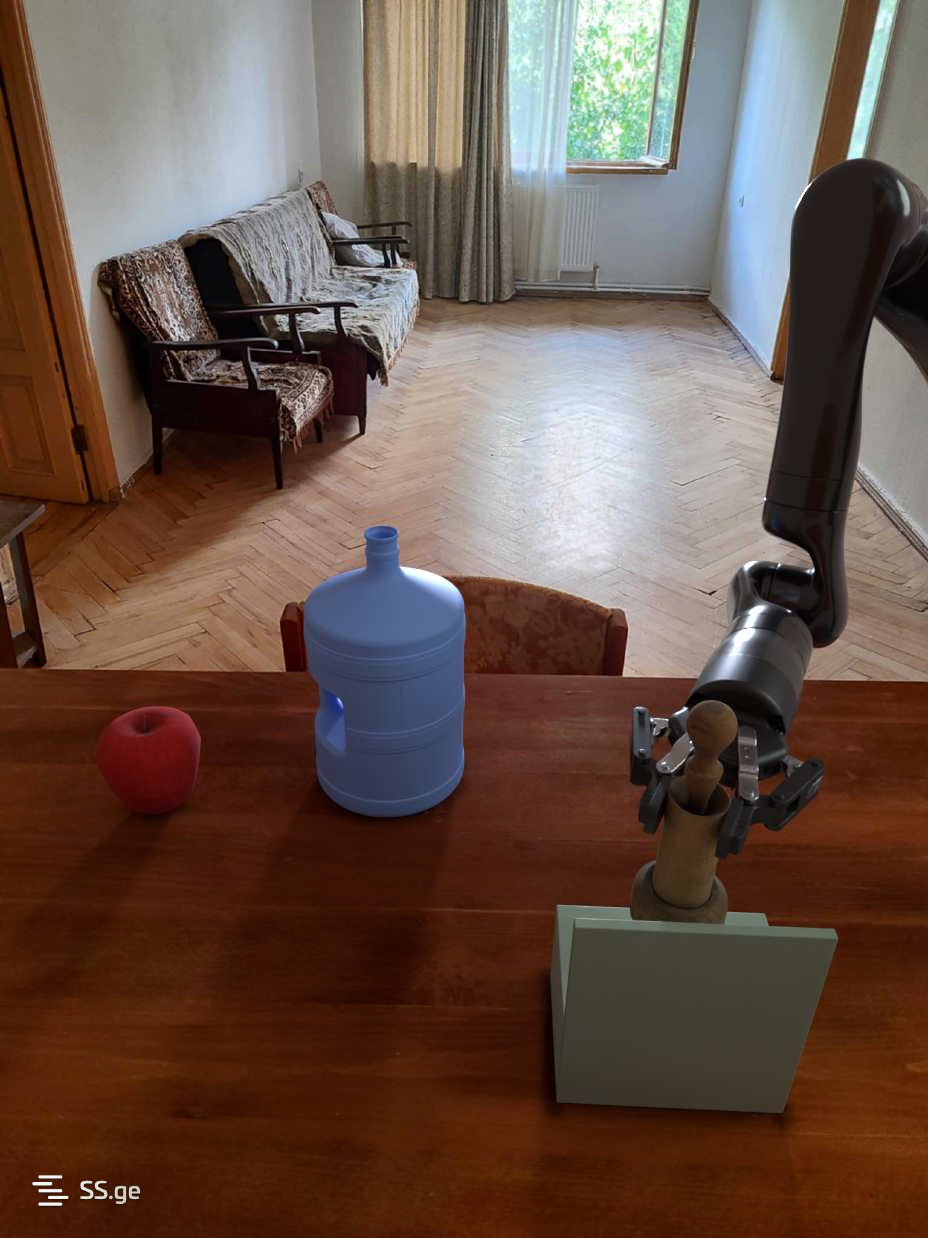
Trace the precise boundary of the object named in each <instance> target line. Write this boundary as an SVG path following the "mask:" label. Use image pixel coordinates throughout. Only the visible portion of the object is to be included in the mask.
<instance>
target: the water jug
mask: <svg viewBox="0 0 928 1238" xmlns="http://www.w3.org/2000/svg"><path fill="white" fill-rule="evenodd" d="M399 536H400V532H399V529H397V528H396V527H394V526H390V525H374V526H371V527H368V528H366V529H365V530H364V532H363V537H364V539H365V541H366V545H365V548H364V555H365V558H366V560H365V561H366V567H361V568H357V569H356V568H355V569H352V570H348V571H345V572H341V573H338V574H337V575H334V576H332V577H330V578H328V579H326V580H324V581H322V582H321V583H320V584H318V585H317V586H316V587H315V588H314V589H313V590H312V591H311V592H310V593H309V595H308V596H307V598H306V600H305V603H304V606H303V618H304V619H303V637H304V644H305V649H306V652H307V663H308V670H309V673H310V675H311V677H312V678H313V680H314V681H315V683H316V684H318V694H319V704H320V705H319V707H318V709H317V711H316V714H315V717H314V725H313V726H314V727H313V729H314V739H315V748H316V754H315V755H316V757H315V766H316V774H317V779H318V782H319V785H320V786H321V788H322V790H323V791H324V793H325V794H326V796H328V798H330V800H332V801H333V802H334V803H335V804H337V805H338V806H340V807H342V808H343V809H346V810H347V811H350V812H351V813H355V814H359V815H362V816H366V817H374V818H399V817H406V816H407V817H408V816H411V815H416V814H419V813H421V812H422V813H423V812H424V811H427V810H429V809H431V808H433V807H435V806H436V805H438V804H441V803H442V802H443V801H445V800H446V799H447V798H448V797H450V795H451V794H452V793H453V792H454V791H455V790H456V788H457V787H458V785H459V783H460V782H461V780H462V778H463V775H464V769H465V749H464V713H465V706H466V689H465V683H464V679H465V678H464V677H465V673H464V672H465V642H466V631H467V630H466V627H467V623H466V620H467V619H466V613H465V601H464V598H463V595H462V593H461V592H460V591H459V589H458V588H457V586H455V584H453V583H452V582H450V581H449V580H448V579H446V578H444V577H442V576H441V575H439V574H436V573H434V572H431V571H427V570H425V569H424V570H423V569H419V568H415V567H408V566H401V565H400V546H399V544H398V538H399Z"/></svg>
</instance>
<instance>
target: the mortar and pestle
mask: <svg viewBox="0 0 928 1238" xmlns="http://www.w3.org/2000/svg"><path fill="white" fill-rule="evenodd" d="M686 730H687V733H688V736H689V738H690V740H691V742H692V744H693V746H694V748H695V753H694V755H693V756H691V757H690V758H688V760H687V761H686V775H684V776H680V777H678V778H676V779H674V780H673V781H672V782H671V784H670V786H669V789H668V795H667V801H666V807H665V814H664V816H663V818H662V819H663V820H662V824H661V825H662V826H661V830H660V837H659V843H658V848H657V853H656V859H654V860H651V861H649V862H647V863H646V864H644V865H643V866H642V867H641V868H640V869H639V870H638V871H637V873H636V874H635V877H634V879H633V883H632V888H631V893H630V899H629V908H630V914H631V918H632V920H634V921H658V922H682V923H706V924H724V923H725V918H726V914H727V912H728V909H729V897H728V893H727V890H726V888H725V886H724V884H723V882H722V881H721V880H720V879H719V877H718V876H717V875H716V870H717V866H718V861H719V858H717V857H715V851H716V847H717V842H718V838H719V834H720V831H721V828H722V825H723V823H724V820H725V817H726V815H727V812H728V810H729V807H730V805H731V795H730V794H729V792H728V790H727V789H726V788H725V786H723V785H721V784H719V783H718V782H719V780H720V778H721V776H722V773H723V766H722V764H721V763H720V762H719V761H718V760H717V758H718V756H719V754H720V753H721V752H722V751H723V750H724V749H725V748H727V747H728V746H729V745H730V744H731V743H732V741H733V740H734V739H735V737H736V734H737V730H738V723H737V719H736V716H735V714H734V712H733V711H732V709H731V708H730V707H729V706H727V705H726V704H724V703H722V702H719V701H714V700H708V701H703V702H700V703H699V704H697V705H696V706H694V707H693V708H692V710H691V711H690V712H689V714H688V717H687V720H686Z"/></svg>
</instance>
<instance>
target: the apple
mask: <svg viewBox="0 0 928 1238" xmlns="http://www.w3.org/2000/svg"><path fill="white" fill-rule="evenodd" d="M201 741H202V737H201V735H200V732H199V730H198V728H197V726H196V724H195V722H194V721H193V719H192V718H191V716H190V714H188V713H186V712H184V711H182V710H180V709H179V708H178V709H177V708H175V707H170V706H162V705H159V706H158V705H153V706H151V705H150V706H145V707H144V706H143V707H139V708H137V709H133V710H131V711H130V710H129V711H128V712H126V713H124V714H122V715H121V716H118V717H117V718H115V719H114V720H113V721H112V722H111V723H110V724H109V725H108V726H107V727H106V728H104V730H102V732H101V733H100V734H99V737H98V741H97V744H96V751H95V752H96V753H95V756H94V762H95V764H96V766H97V768H98V770H99V772H100V774H101V775H102V777H103V779H104V781H105V783H106V784H107V786H108V787H109V789H110V790H111V792H112V793H113V794H114V795H115V796H116V797H117V799H119V801H120V802H121V803H122V804H123V805H124V807H126V808H127V809H129V810H131V811H132V812H134V813H141V814H146V815H147V814H149V815H162V814H165V813H168V812H171V811H173V810H174V809H176V808H177V807H179V806H180V805H181V804H183V803H185V802H186V801H187V800H188V799H189V797H190V796H191V794H192V792H193V791H194V789H195V783H196V780H197V775H198V771H199V765H200V764H199V763H200V755H201V744H202V742H201Z"/></svg>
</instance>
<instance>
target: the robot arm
mask: <svg viewBox="0 0 928 1238" xmlns="http://www.w3.org/2000/svg"><path fill="white" fill-rule="evenodd" d="M789 242H790V243H789V309H788V325H787V326H788V327H787V340H786V341H787V342H786V343H787V344H786V356H785V365H784V366H785V367H784V376H783V384H782V392H781V400H780V408H779V413H778V414H779V415H778V421H777V427H776V431H775V432H776V433H775V437H774V443H773V448H772V453H771V460H770V463H769V470H768V475H767V481H766V486H765V492H764V499H763V503H762V510H761V517H760V518H761V519H760V523H761V527H762V529H763V530H764V532H765V533H767V534H768V535H769V536H771V537H774V538H775V539H778V540H780V541H783V542H785V543H789V544H791V545H793V546H796V547H797V548H799V549H801V550H803V551H804V552H805V554H807V556H808V557H809V560H810V561H811V563H812V567H813V568H811V567H804V566H800V565H792V564H787V563H779V562H776V561H770V560H753V561H749V562H747V563H744V564H743V565H741V566H740V567H738V569H737V570H736V571H734V573H733V575H732V577H731V579H730V581H729V584H728V587H727V592H726V616H727V625H728V626H727V630H726V632H725V634H724V635H723V638H722V639H721V641H720V643H719V645H718V646H717V647H716V648H715V650H714V651H713V652H712V653H711V654H710V656H709V658H708V659H707V661H706V663H705V665H704V666H703V669H702V670H701V673H700V674H699V676H698V678H697V680H696V682H695V684H694V686H693V688H692V689H691V691H690V693H689V695H688V697H687V699H686V700H685V703H684V704H683V706H682V708H681V709H680V710H679V711H677V712H676V711H675V712H674V713H672V714H671V715H670V716H669V718H668V719H667V718H659V717H658V718H657V717H656V718H655V717H651V711H650V710H649V709H648V708H646V707H643V706H637V707H635V708H633V710H632V715H631V723H630V729H629V737H628V738H629V739H628V740H629V782H630V783H631V784H632V785H633V786H635V787H643V786H645V787H646V788H645V789H644V791H643V794H642V795H641V797H640V799H639V805H638V814H637V820H638V822H639V823H640V824H641V823H642V824H643V828H642V831H643V832H644V833H646V834H649V835H652V836H655V834H656V832H657V830H658V828H659V826H660V824H661V822H662V821H663V820H662V819H664V814H665V807H666V801H667V795H668V789H669V786H670V784H671V782H672V781H673V780H674V779H676V778H678V777H680V776H684V775H686V761H687V760H688V758H690V757H691V756H693V755H694V753H695V748H694V746H693V744H692V742H691V740H690V738H689V736H688V733H687V730H686V720H687V717H688V714H689V712H690V711H691V710H692V708H693V707H694V706H696V705H697V704H699V703H700V702H703V701H708V700H714V701H719V702H722V703H724V704H726V705H727V706H729V707H730V708H731V709H732V711H733V712H734V714H735V716H736V719H737V723H738V730H737V734H736V737H735V739H734V740H733V741H732V743H731V744H730V745H729V746H728V747H727V748H725V749H724V750H723V751H722V752H721V753H720V754H719V756H718V758H717V760H718V761H719V762H720V763H721V764H722V766H723V773H722V776H721V778H720V780H719V782H718V783H719V784H720V785H721V786H723V787H726V788H729V790H730V798H731V805H730V807H729V810H728V812H727V815H726V817H725V820H724V823H723V825H722V828H721V831H720V834H719V838H718V842H717V847H716V851H715V857H717V858H718V859H720V860H723V861H727V859H728V857H729V854H730V855H732V856H738V855H739V854H740V853H742V851H743V848H744V845H745V842H746V840H747V836H748V834H749V830H750V828H752V826H753V825H757V824H760V825H763V826H764V828H766V830H768V831H771V832H780V831H781V830H782V829H783V828H785V827H786V826H787V825H788V824H789V823H791V821H792V820H793V819H794V818H795V817H796V816H797V815H798V814H799V813H801V811H803V810H804V809H805V807H806V806H808V805H809V804H810V803H811V802H812V801H813V800H814V799H816V797H817V796H818V795H819V792H820V788H821V785H822V781H823V778H824V773H825V770H826V767H827V766H826V762H824V761H823V760H822V759H820V758H817V757H809V758H808V759H807V760H805V761H802V760H800V759H798V758H796V757H794V756H792V755H790V748H789V746H788V744H787V739H788V737H789V734H790V732H791V728H792V725H793V722H794V719H795V718H796V716H797V714H798V711H799V708H800V707H799V704H800V701H801V698H802V694H803V689H804V679H805V675H806V673H807V670H808V667H809V664H810V662H811V658H812V655H813V651H814V650H813V649H823V648H826V647H830V646H832V644H834V643H836V641H837V640H838V639H840V637H841V636H842V634H843V633H844V631H845V629H846V627H847V624H848V621H849V620H848V619H849V614H850V605H849V604H850V601H849V600H850V599H849V590H848V583H847V573H846V563H845V534H846V533H845V532H846V526H847V525H846V524H847V518H848V514H849V507H850V503H851V498H852V493H853V490H854V483H855V479H856V474H857V470H858V464H859V458H860V451H861V441H862V430H863V387H864V386H863V385H864V374H865V373H864V371H865V364H866V356H867V349H868V344H869V338H870V334H871V329H872V326H873V322H874V319H875V320H876V321H877V322H878V323H879V324H880V325H881V327H883V328H884V329H885V330H886V331H887V332H888V333H889V334H890V335H891V336H892V337H893V338H894V339H895V340H896V341H897V343H899V345H900V346H901V347H902V348H903V349H904V351H905V352H906V353H907V354H908V356H909V357H910V359H911V361H912V362H913V363H914V365H915V367H916V369H917V371H918V372H919V374H920V377H921V379H922V380H923V381H924V383H925V386H926V387H927V388H928V198H927V197H926V196H925V193H924V192H923V191H922V189H921V188H920V187H919V186H918V185H917V184H916V183H915V182H913V180H911V179H910V177H908V176H906V175H905V174H904V173H903V172H901V171H900V170H898V169H897V168H895V167H893V166H892V165H890V164H888V163H886V162H883V161H881V160H878V159H874V158H870V157H869V158H868V157H856V158H851V159H846V160H843V161H841V162H838V163H835V164H833V165H831V166H830V167H828V168H826V169H824V170H823V171H822V172H821V173H819V174H818V176H816V177H815V178H813V180H812V181H811V183H810V184H809V185H807V187H806V188H805V190H804V192H803V193H802V195H801V197H800V198H799V199H798V202H797V204H796V206H795V209H794V212H793V216H792V220H791V226H790V241H789ZM661 738H666V739H667V741H668V743H669V745H670V747H671V749H670V751H669V752H668V753H667V754H666V755H665V756H663V758H661V759H660V760H659V761H658V760H656V759H654V758H652V749H654V748H653V747H654V745H657V744H658V743H659V741H660V739H661ZM781 773H782V774H783V775H784V778H783V781H782V782H780V783H779V784H778V785H777V786H776V787H775V788H774V789H773V790H772V791H770V793H769V794H760V791H759V788H760V787H759V782H761V781H764V780H767V779H769V778H772V777H774V776H777V775H780V774H781Z"/></svg>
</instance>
